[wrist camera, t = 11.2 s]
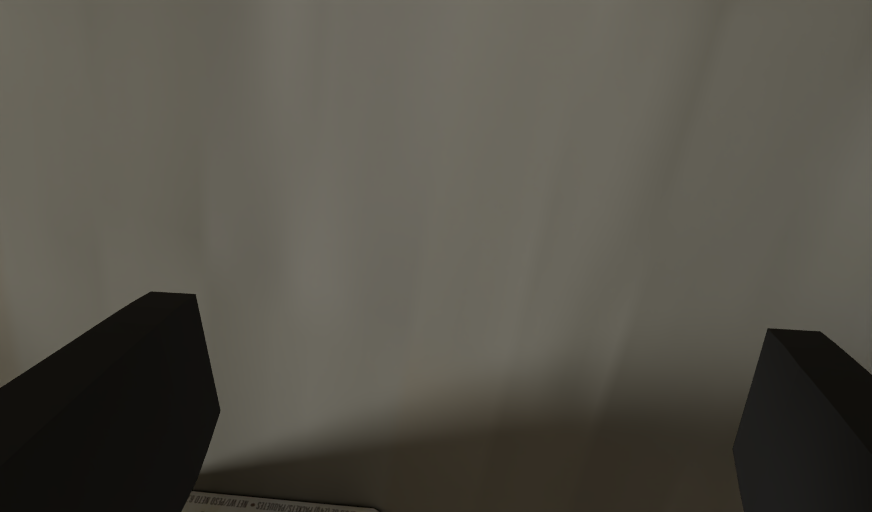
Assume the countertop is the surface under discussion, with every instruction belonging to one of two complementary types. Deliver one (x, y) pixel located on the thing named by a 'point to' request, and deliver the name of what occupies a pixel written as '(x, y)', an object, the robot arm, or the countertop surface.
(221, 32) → the countertop surface
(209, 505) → the coffee box
